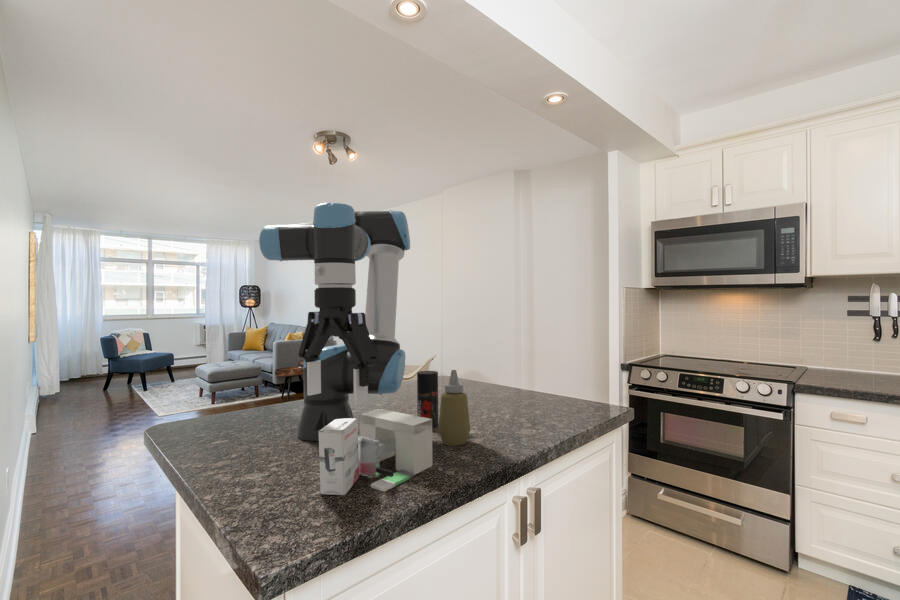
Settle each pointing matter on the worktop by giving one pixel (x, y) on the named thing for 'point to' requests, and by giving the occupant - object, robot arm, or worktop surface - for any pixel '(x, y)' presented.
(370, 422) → the white and green frame
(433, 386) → the deodorant
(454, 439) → the squeeze bottle
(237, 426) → the worktop surface
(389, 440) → the grey bar with plate
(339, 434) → the ink box
